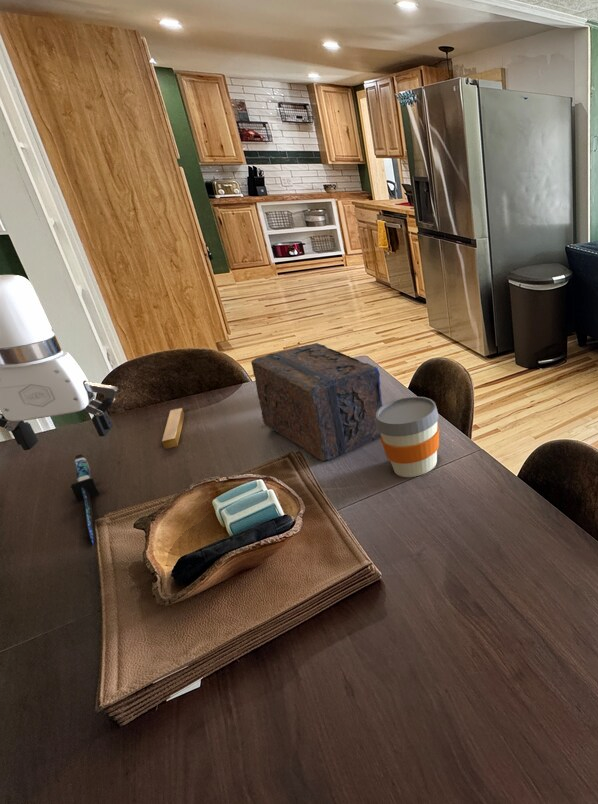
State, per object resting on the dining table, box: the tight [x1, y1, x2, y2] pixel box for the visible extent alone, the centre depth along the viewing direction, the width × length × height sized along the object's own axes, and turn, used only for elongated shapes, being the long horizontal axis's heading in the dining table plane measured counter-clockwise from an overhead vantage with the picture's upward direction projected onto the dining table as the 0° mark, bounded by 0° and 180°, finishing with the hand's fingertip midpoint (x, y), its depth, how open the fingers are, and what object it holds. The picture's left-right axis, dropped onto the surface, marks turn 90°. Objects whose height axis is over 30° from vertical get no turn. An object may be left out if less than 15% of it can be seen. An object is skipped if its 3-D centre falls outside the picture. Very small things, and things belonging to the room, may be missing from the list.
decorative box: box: [250, 342, 383, 462], centre depth 117 cm, size 31×20×20 cm
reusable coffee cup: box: [376, 396, 440, 478], centre depth 104 cm, size 13×13×15 cm
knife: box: [70, 453, 100, 545], centre depth 92 cm, size 31×3×4 cm, turn 43°
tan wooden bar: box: [161, 407, 185, 450], centre depth 119 cm, size 2×18×2 cm, turn 35°
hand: (69, 439), depth 85 cm, fingers open, 9 cm apart
